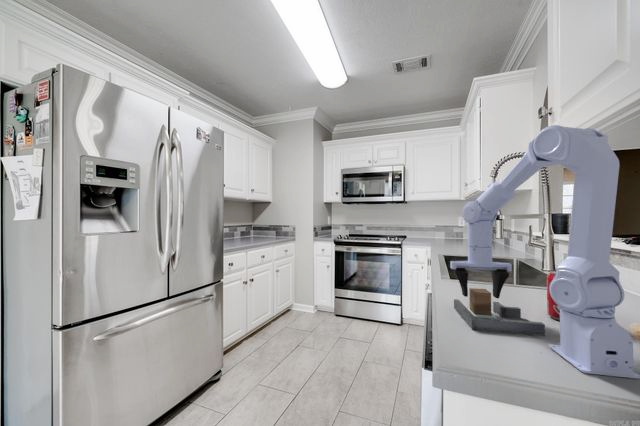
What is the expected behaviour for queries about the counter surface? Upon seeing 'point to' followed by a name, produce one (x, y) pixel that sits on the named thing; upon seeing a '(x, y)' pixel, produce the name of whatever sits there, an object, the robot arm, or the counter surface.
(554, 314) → the beverage can
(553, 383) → the counter surface
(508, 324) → the grey flat frame
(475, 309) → the walnut block
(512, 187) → the robot arm
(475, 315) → the pad
